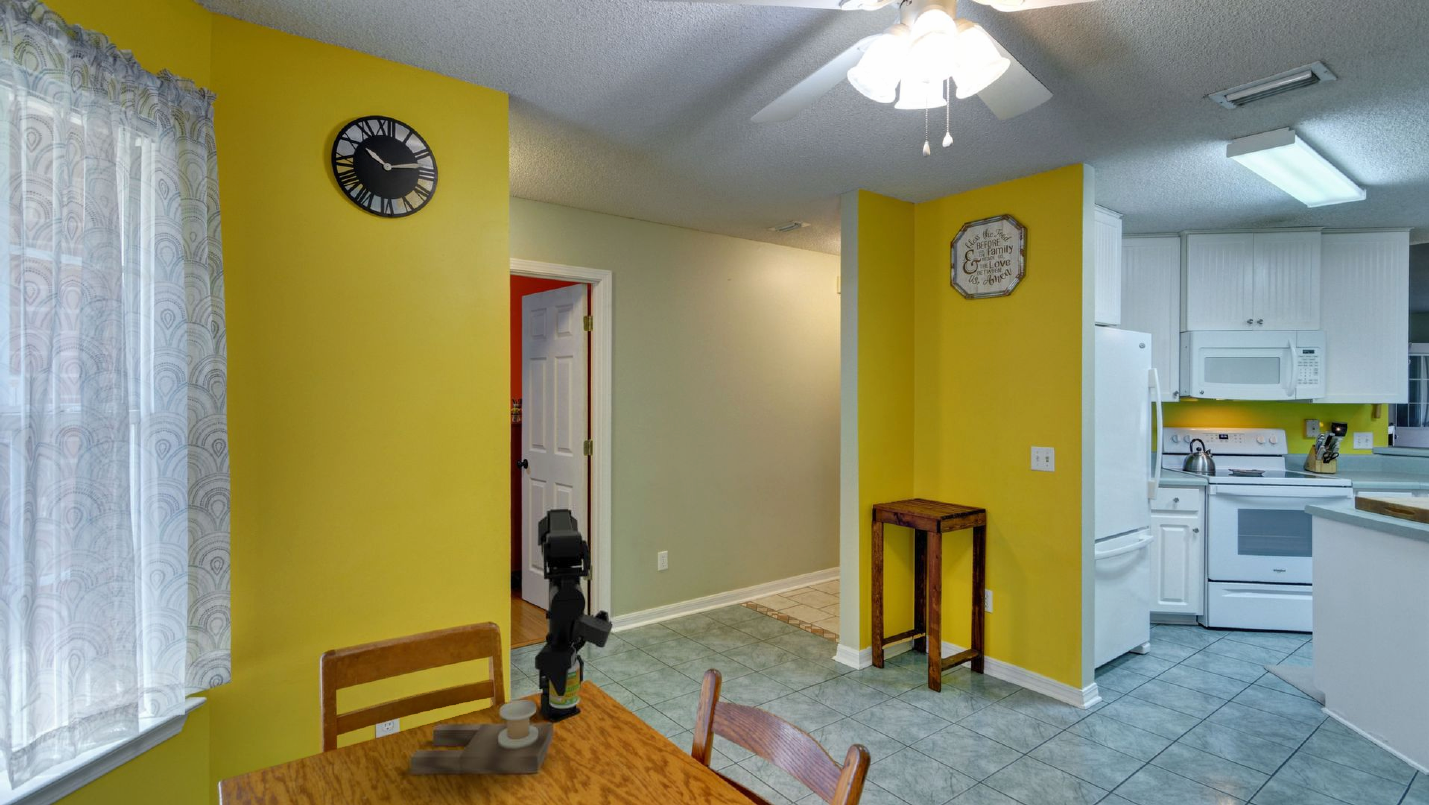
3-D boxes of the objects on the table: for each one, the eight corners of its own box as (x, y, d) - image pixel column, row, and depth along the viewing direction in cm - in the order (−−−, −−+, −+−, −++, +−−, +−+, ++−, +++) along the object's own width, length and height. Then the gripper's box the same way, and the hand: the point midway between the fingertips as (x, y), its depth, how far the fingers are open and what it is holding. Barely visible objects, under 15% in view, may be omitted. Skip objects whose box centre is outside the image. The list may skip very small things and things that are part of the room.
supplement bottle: (566, 711, 121) (565, 657, 121) (543, 705, 123) (543, 651, 123) (585, 699, 125) (585, 647, 125) (563, 693, 128) (563, 642, 128)
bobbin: (525, 726, 129) (525, 695, 129) (545, 739, 125) (545, 707, 125) (491, 739, 124) (491, 707, 124) (510, 753, 120) (510, 720, 120)
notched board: (553, 739, 131) (553, 723, 131) (537, 773, 119) (537, 756, 119) (437, 740, 130) (437, 724, 130) (410, 774, 118) (410, 757, 118)
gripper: (599, 621, 115) (600, 713, 115) (616, 589, 133) (616, 668, 134) (534, 620, 115) (534, 712, 115) (559, 589, 133) (559, 668, 134)
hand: (564, 688), depth 124 cm, fingers closed on supplement bottle, 5 cm apart
